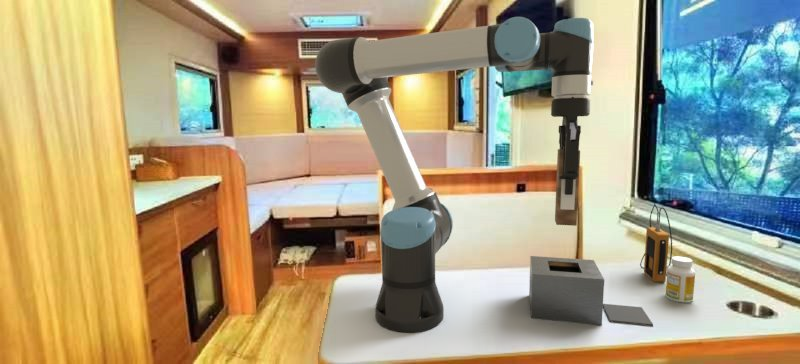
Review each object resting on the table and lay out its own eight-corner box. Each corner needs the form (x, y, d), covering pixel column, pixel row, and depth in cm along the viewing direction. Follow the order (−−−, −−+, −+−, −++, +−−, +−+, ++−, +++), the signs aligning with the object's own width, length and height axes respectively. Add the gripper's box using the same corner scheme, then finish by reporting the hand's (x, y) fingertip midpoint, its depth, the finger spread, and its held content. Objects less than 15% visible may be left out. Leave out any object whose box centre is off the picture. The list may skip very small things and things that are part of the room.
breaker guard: (531, 317, 89) (532, 273, 87) (529, 295, 100) (530, 255, 99) (601, 325, 85) (604, 279, 84) (591, 300, 97) (593, 260, 95)
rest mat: (610, 321, 86) (610, 319, 86) (602, 305, 94) (602, 303, 94) (652, 326, 84) (653, 324, 84) (641, 308, 92) (641, 307, 92)
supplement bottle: (690, 295, 98) (693, 256, 97) (695, 304, 93) (698, 264, 92) (663, 292, 100) (666, 254, 99) (667, 301, 96) (670, 261, 94)
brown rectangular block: (556, 224, 88) (559, 150, 86) (554, 220, 92) (557, 149, 90) (576, 225, 87) (580, 150, 85) (573, 221, 91) (577, 149, 89)
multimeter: (704, 291, 101) (711, 211, 98) (659, 288, 103) (665, 210, 100) (677, 269, 115) (683, 199, 112) (638, 268, 117) (642, 199, 114)
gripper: (598, 94, 77) (591, 216, 80) (583, 98, 93) (578, 200, 96) (555, 96, 79) (550, 214, 82) (548, 99, 95) (545, 198, 98)
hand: (565, 206), depth 89 cm, fingers closed on brown rectangular block, 4 cm apart
